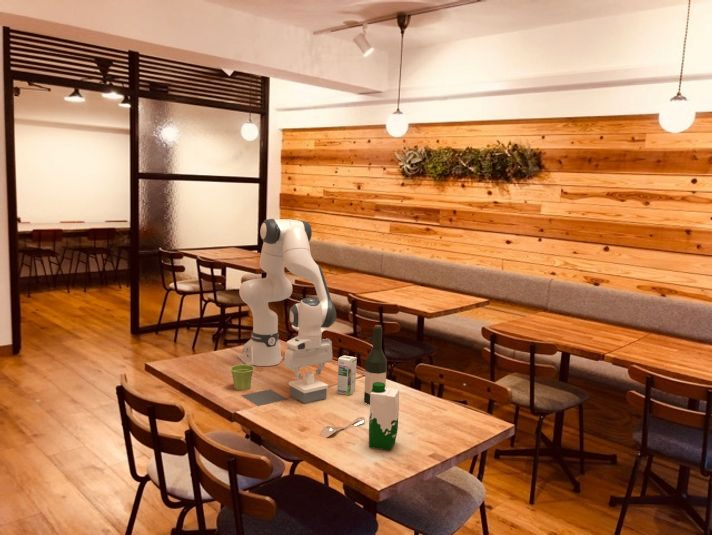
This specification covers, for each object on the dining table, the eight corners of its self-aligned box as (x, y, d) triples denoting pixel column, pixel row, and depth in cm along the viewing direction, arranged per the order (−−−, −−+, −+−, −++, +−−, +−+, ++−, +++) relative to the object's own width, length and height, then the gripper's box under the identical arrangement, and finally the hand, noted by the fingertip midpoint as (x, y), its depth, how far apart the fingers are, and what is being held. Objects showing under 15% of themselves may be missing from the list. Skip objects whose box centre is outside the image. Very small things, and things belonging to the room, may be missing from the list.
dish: (289, 397, 233) (290, 385, 232) (311, 392, 239) (311, 380, 238) (304, 405, 225) (304, 392, 224) (326, 400, 231) (326, 387, 230)
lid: (288, 384, 232) (288, 371, 231) (312, 380, 239) (312, 367, 238) (304, 393, 223) (304, 379, 223) (328, 388, 230) (328, 374, 230)
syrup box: (336, 393, 239) (337, 358, 237) (342, 389, 245) (344, 354, 243) (349, 396, 237) (350, 360, 235) (355, 391, 242) (357, 356, 240)
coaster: (240, 396, 231) (240, 395, 231) (270, 390, 239) (270, 389, 239) (257, 407, 221) (257, 405, 221) (287, 400, 229) (287, 399, 229)
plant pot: (246, 394, 234) (247, 373, 232) (225, 391, 237) (225, 369, 235) (258, 387, 242) (258, 366, 241) (237, 384, 245) (237, 363, 244)
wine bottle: (370, 396, 238) (373, 322, 234) (388, 401, 233) (393, 325, 229) (359, 402, 231) (363, 325, 226) (378, 407, 226) (382, 329, 222)
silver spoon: (358, 409, 213) (368, 413, 210) (358, 419, 214) (368, 423, 211) (317, 428, 199) (327, 432, 196) (317, 438, 200) (327, 442, 196)
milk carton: (372, 437, 199) (375, 379, 196) (398, 441, 197) (402, 382, 194) (365, 448, 191) (368, 387, 188) (393, 452, 188) (396, 391, 186)
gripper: (327, 335, 238) (325, 369, 240) (282, 342, 225) (281, 378, 227) (336, 339, 233) (335, 374, 235) (291, 346, 220) (290, 383, 222)
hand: (308, 376), depth 231 cm, fingers open, 8 cm apart
